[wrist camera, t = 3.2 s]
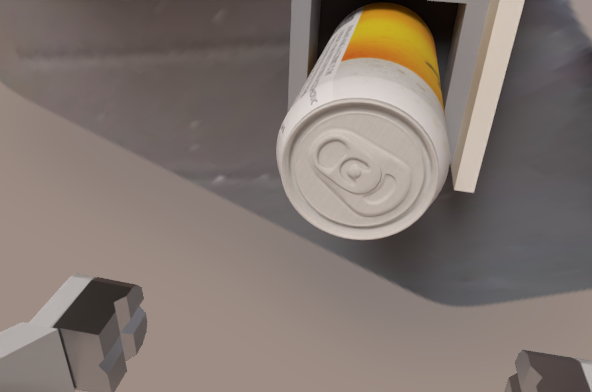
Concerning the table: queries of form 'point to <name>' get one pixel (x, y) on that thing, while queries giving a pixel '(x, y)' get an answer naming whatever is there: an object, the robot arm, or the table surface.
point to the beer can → (368, 128)
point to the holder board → (457, 79)
